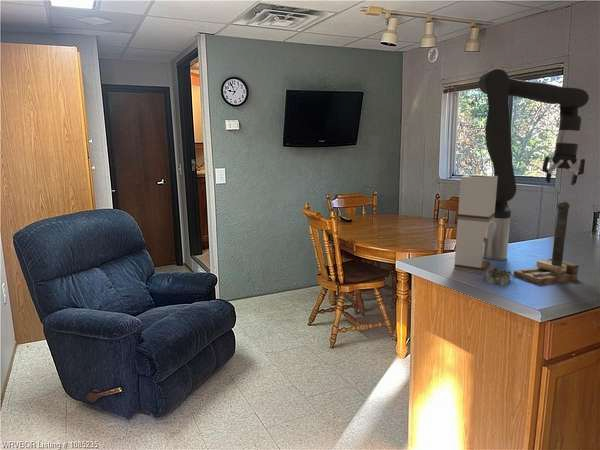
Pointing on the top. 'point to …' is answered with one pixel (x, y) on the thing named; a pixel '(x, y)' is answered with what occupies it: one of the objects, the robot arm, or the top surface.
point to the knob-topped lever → (558, 241)
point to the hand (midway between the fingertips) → (560, 183)
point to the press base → (548, 274)
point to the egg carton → (498, 276)
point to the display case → (474, 221)
